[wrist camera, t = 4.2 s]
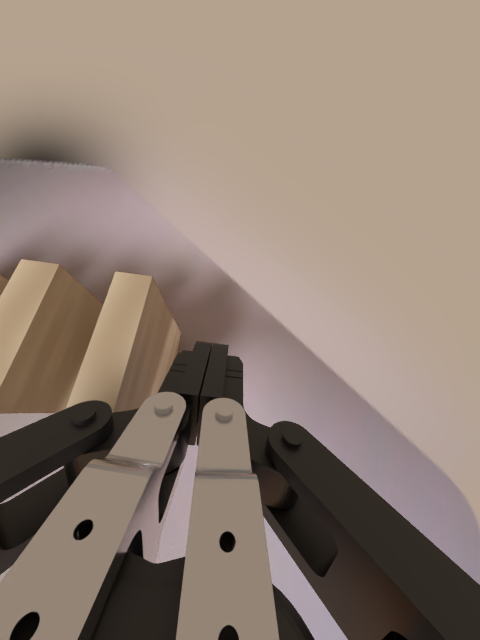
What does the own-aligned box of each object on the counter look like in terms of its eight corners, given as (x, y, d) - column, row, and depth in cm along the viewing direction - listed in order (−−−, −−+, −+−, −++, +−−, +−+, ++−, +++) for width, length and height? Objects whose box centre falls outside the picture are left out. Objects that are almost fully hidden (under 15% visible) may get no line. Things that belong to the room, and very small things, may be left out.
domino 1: (77, 409, 15) (-63, 408, 8) (106, 324, 17) (21, 259, 10) (102, 412, 15) (-13, 413, 8) (128, 327, 17) (59, 263, 10)
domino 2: (139, 416, 15) (61, 421, 8) (159, 331, 17) (115, 271, 10) (163, 418, 15) (109, 426, 8) (181, 333, 17) (152, 276, 10)
